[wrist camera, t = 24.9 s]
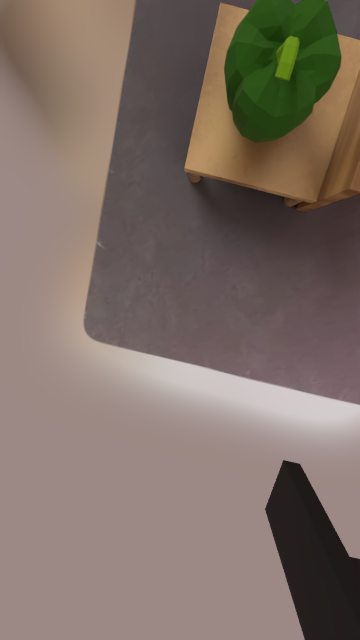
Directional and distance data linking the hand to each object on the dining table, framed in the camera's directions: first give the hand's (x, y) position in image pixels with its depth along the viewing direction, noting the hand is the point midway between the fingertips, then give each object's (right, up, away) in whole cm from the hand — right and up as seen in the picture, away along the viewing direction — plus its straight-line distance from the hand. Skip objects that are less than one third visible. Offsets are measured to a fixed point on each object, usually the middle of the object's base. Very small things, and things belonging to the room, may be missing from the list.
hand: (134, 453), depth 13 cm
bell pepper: (+10, +27, +15) cm, 32 cm away
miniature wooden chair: (+11, +28, +21) cm, 36 cm away
